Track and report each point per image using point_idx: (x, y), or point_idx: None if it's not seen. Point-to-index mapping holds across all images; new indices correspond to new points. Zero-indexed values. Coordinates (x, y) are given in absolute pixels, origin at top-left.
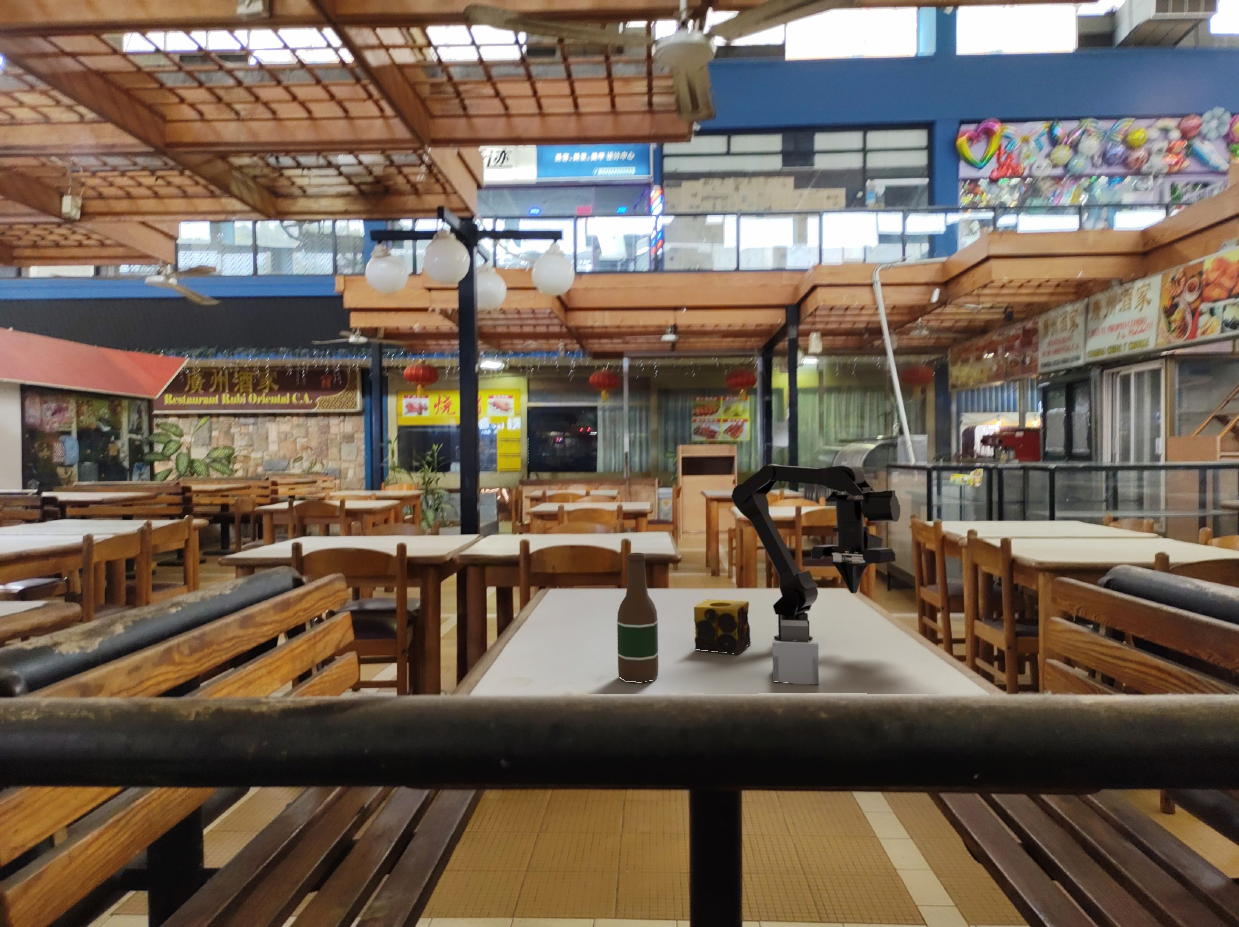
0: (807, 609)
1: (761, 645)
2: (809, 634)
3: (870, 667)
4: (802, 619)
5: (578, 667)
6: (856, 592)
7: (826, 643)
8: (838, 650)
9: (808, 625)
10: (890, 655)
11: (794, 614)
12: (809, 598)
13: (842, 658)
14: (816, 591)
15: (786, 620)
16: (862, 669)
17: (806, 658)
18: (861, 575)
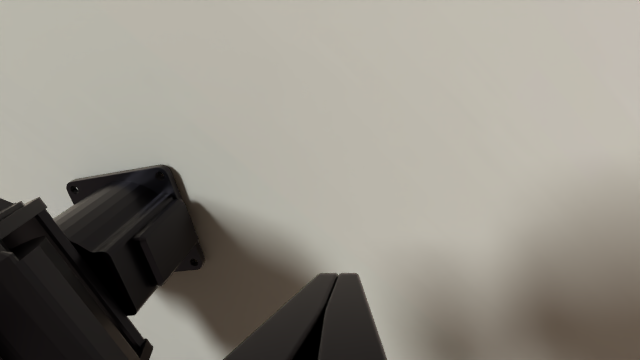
0: (49, 224)
1: (184, 349)
2: (177, 208)
3: (623, 286)
4: (142, 277)
5: None
6: (358, 275)
7: (244, 162)
8: (361, 203)
9: (157, 233)
10: (564, 76)
11: (150, 352)
12: (103, 355)
13: (461, 273)
14: (1, 287)
15: None
16: (617, 323)
17: None
18: None
